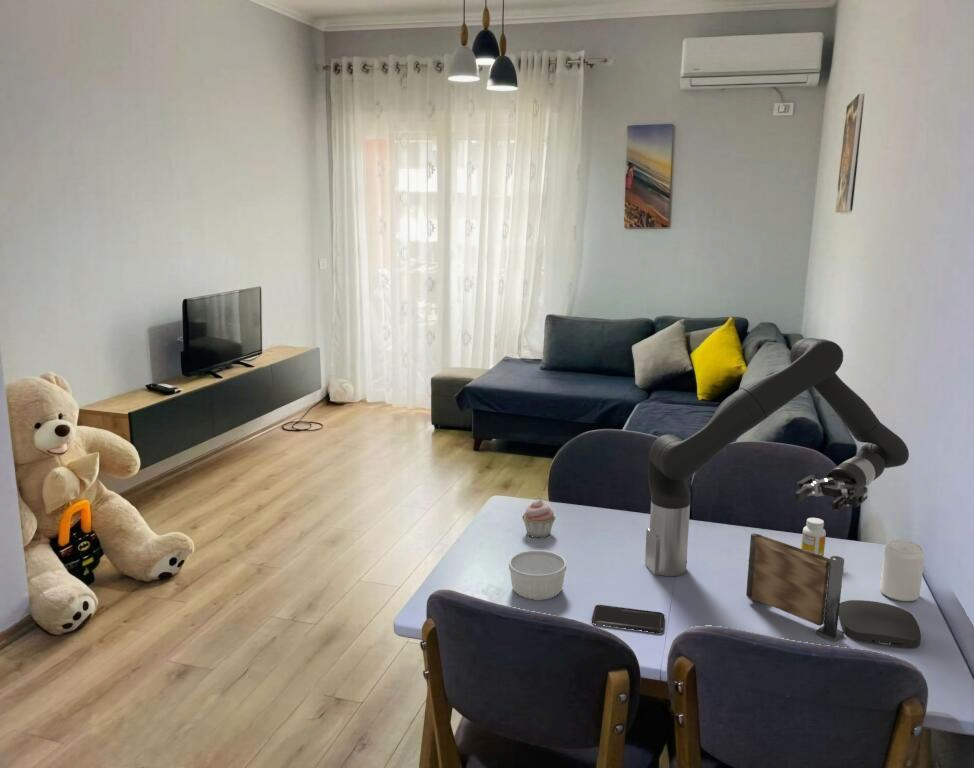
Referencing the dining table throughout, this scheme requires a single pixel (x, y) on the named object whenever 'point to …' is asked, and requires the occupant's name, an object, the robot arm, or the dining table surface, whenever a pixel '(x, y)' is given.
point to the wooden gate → (788, 578)
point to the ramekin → (537, 574)
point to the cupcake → (538, 519)
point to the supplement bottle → (814, 536)
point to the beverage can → (902, 570)
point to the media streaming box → (879, 624)
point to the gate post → (832, 601)
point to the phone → (628, 618)
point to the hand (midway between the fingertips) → (815, 502)
